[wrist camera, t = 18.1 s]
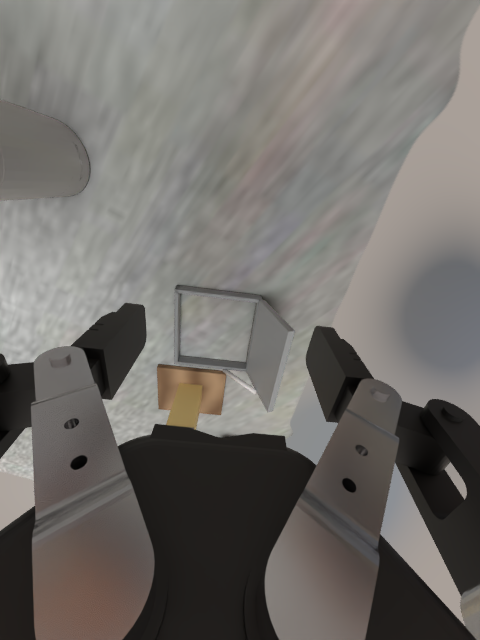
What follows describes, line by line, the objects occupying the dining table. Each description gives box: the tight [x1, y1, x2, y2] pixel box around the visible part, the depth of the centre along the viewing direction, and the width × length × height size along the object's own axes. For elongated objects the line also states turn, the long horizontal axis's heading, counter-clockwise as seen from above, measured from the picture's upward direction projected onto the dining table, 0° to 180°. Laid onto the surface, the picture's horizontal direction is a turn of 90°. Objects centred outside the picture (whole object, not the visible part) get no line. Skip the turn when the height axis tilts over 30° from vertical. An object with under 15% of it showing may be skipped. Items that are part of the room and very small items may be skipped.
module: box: [166, 383, 202, 430], centre depth 47 cm, size 5×5×13 cm
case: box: [174, 285, 295, 412], centre depth 42 cm, size 18×16×12 cm
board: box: [157, 364, 226, 415], centre depth 54 cm, size 14×12×1 cm
